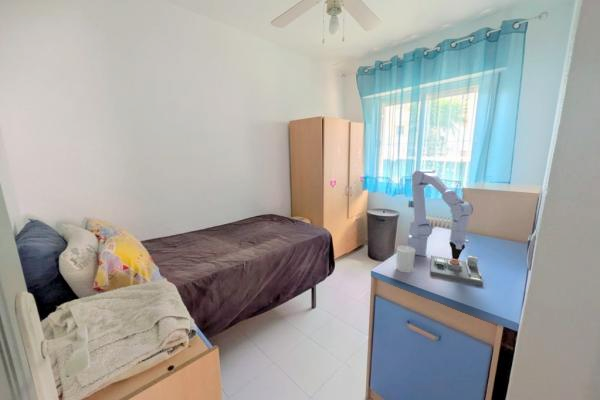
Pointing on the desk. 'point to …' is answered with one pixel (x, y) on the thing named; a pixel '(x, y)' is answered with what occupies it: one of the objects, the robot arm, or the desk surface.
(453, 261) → the push button
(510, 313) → the desk surface
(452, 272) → the panel
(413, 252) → the white cup
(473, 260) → the grey boxy piece
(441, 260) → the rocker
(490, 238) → the desk surface
